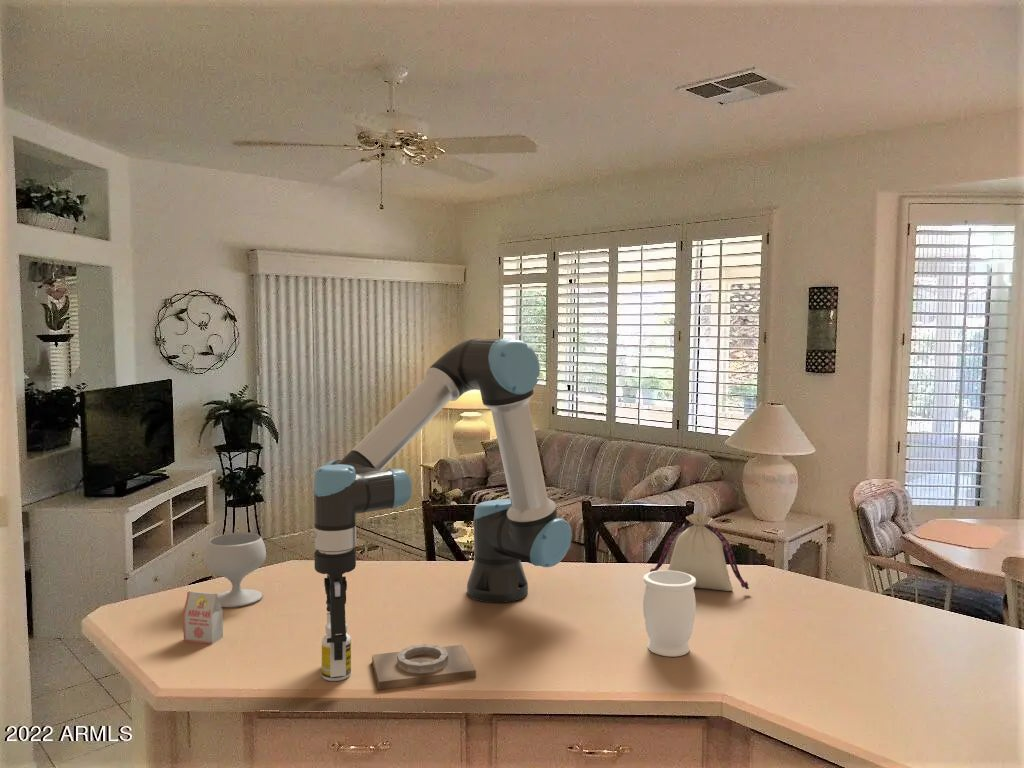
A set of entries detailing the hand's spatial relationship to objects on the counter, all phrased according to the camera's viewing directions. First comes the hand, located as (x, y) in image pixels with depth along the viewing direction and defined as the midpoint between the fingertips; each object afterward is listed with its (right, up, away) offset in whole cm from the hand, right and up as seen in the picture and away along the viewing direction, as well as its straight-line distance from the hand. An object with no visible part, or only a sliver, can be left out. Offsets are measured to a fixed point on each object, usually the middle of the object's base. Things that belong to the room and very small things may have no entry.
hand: (336, 660), depth 142 cm
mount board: (+16, -3, +3) cm, 16 cm away
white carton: (-32, -2, +17) cm, 36 cm away
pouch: (+80, 0, +50) cm, 95 cm away
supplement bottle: (0, -3, 0) cm, 3 cm away
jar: (+65, -3, +13) cm, 66 cm away
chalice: (-33, 0, +40) cm, 52 cm away
